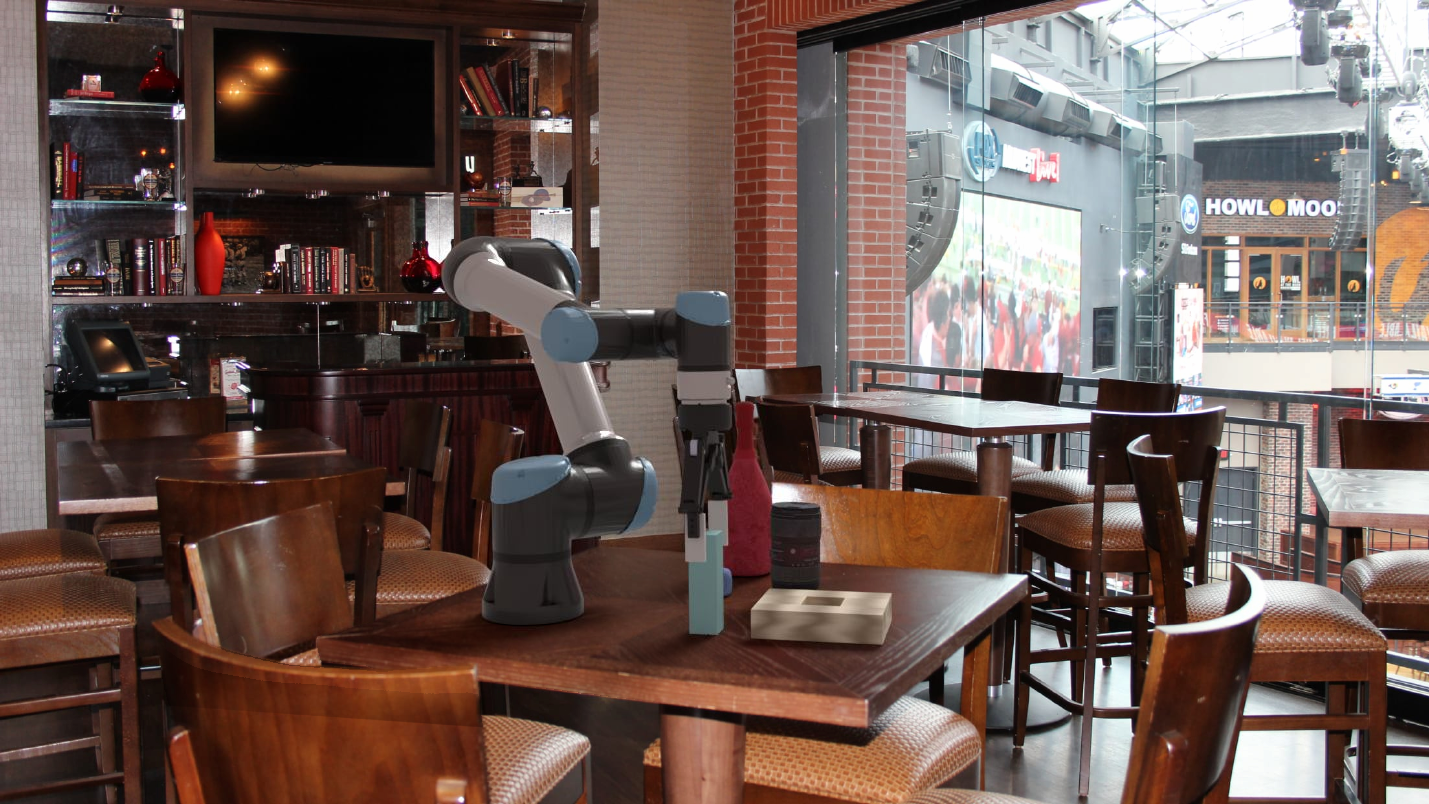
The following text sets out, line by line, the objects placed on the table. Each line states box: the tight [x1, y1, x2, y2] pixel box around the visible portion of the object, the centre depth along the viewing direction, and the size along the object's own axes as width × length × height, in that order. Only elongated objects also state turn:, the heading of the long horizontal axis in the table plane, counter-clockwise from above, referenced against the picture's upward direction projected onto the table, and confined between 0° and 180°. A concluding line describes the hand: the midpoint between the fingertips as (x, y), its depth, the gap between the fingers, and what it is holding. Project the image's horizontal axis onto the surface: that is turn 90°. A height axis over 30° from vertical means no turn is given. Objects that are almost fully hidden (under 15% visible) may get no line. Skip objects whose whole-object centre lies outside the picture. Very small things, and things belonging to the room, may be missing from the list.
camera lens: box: [769, 501, 823, 590], centre depth 193 cm, size 8×8×15 cm
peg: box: [688, 529, 725, 636], centre depth 173 cm, size 4×4×14 cm
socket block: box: [750, 588, 893, 645], centre depth 173 cm, size 18×14×4 cm
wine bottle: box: [723, 400, 774, 577], centre depth 214 cm, size 10×10×30 cm
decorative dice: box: [723, 568, 733, 597], centre depth 197 cm, size 4×4×4 cm
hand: (707, 553), depth 172 cm, fingers open, 13 cm apart
